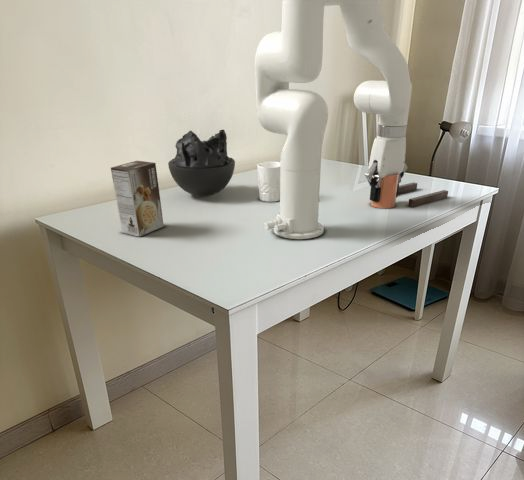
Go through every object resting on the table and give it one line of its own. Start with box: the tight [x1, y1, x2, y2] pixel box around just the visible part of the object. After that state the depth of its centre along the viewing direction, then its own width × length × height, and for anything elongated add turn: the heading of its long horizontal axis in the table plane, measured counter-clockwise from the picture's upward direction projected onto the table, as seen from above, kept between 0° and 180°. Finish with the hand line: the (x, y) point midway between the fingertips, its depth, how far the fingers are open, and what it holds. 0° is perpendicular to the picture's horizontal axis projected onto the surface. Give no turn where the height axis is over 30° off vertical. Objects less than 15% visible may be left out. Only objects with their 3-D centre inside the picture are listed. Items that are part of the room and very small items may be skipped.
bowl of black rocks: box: [167, 129, 236, 197], centre depth 149 cm, size 20×20×19 cm
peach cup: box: [370, 173, 399, 209], centre depth 141 cm, size 7×7×9 cm
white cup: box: [256, 161, 280, 203], centre depth 147 cm, size 8×8×10 cm
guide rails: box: [398, 181, 449, 208], centre depth 149 cm, size 16×13×2 cm
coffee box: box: [110, 160, 165, 237], centre depth 123 cm, size 9×6×16 cm
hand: (383, 198), depth 142 cm, fingers closed on peach cup, 6 cm apart
